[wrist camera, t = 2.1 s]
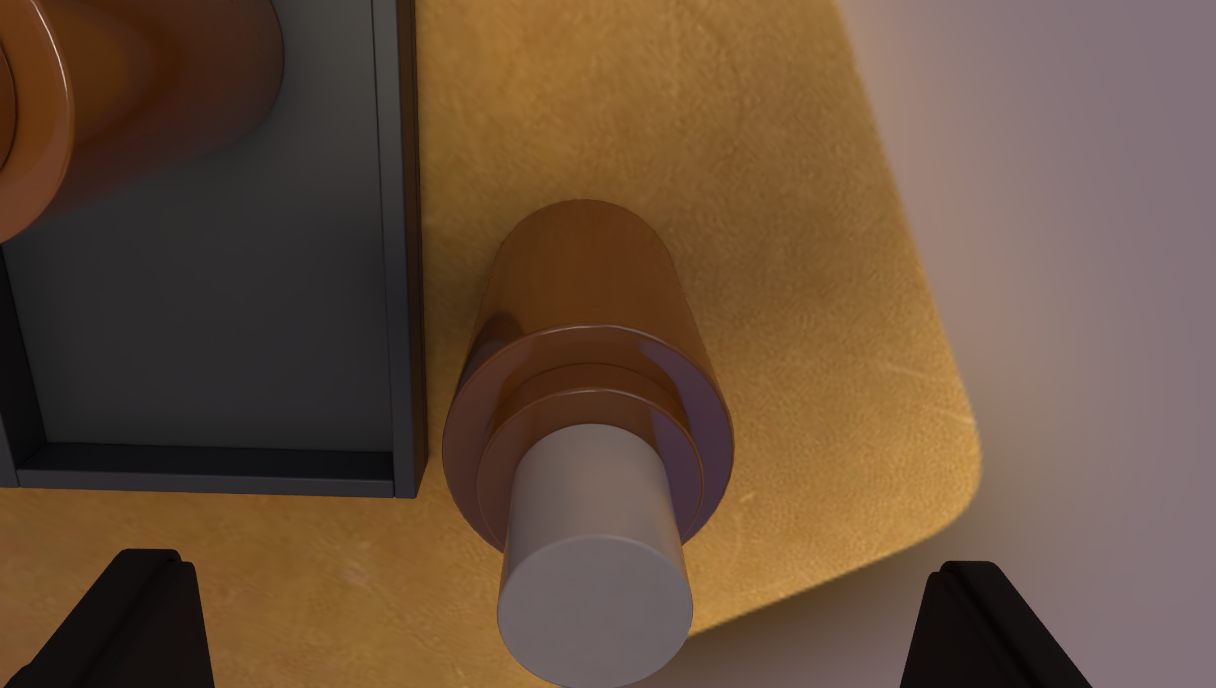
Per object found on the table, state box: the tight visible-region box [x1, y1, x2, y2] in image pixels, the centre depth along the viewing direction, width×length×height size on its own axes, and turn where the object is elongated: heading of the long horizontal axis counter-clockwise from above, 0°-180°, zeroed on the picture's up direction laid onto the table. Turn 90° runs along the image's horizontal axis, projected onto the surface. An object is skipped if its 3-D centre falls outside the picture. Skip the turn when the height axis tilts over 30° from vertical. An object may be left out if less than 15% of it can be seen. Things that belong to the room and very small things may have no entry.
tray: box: [0, 0, 428, 499], centre depth 19 cm, size 11×23×2 cm, turn 177°
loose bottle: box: [442, 200, 735, 688], centre depth 17 cm, size 5×5×13 cm
